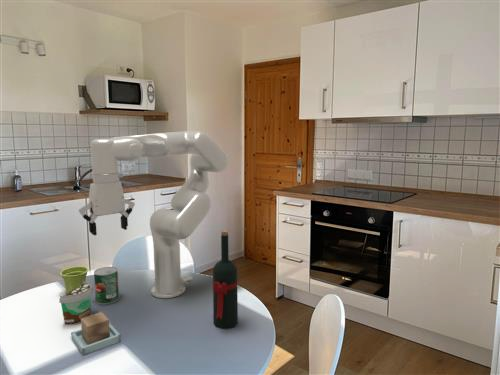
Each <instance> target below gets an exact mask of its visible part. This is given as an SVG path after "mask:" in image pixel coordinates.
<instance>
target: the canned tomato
mask: <svg viewBox="0 0 500 375" xmlns="http://www.w3.org/2000/svg"><path fill="white" fill-rule="evenodd" d="M118 270H119V269H118V268H117V267H116V266H102V267H99V268H97V269H95V270H94V271H93V276H94V278H93V279H94V291H95V302H96V304H98V305H111V304H113V303H116V302H117V301H118V300H120V294H119V293H120V292H119V291H120V290H119V275H118V274H119V273H118Z"/></svg>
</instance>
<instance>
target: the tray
mask: <svg viewBox="0 0 500 375" xmlns="http://www.w3.org/2000/svg"><path fill="white" fill-rule="evenodd" d="M109 329H110V337H109V338H106V339H104V340H101V341H98V342H95V343H92V344H90V345H87V343H86V342H85V341H84V339H83V338H82V330H81V329H78V330H75V331H72V332H70V337H71V338H70V339H71V340H72V341H73V343H74V344H75V347H76V348H77V349H78V351H79V353H80V354H81V355H82V356H85V355H88V354H90V353H93V352H95V351H99V350H102V349H104V348H107V347H109V346H112V345H115V344H118V343H121V342H122V341H121V340H122V339H121V338H122V337H121V336H122V335H121V333H119V332H118V331H117V329H116V328H115V327H114V326H113V325H112V324H111V323H110V322H109Z"/></svg>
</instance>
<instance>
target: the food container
mask: <svg viewBox="0 0 500 375" xmlns="http://www.w3.org/2000/svg"><path fill="white" fill-rule="evenodd" d="M93 293H94V291H93V287H92V285H91V283H89V282H88V281H86V282H84V281H83V284H82V285H81V286H79V287H78V288H75V289H73V290H72V291H70V292H69V293H68V294H67V293H66V294H65V295H59V301H58V303H59V304H61V312H62V316H63V321H64V325H76V324H79V323H80V324H81V318H84V317H87V316H90V315H91V310H92V308H91V305H92V304H91V299H92V297H91V295H92V294H93Z"/></svg>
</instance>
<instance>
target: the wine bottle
mask: <svg viewBox="0 0 500 375" xmlns="http://www.w3.org/2000/svg"><path fill="white" fill-rule="evenodd" d="M220 233H221V235H220V240H221V242H220V250H221V253H220V255H221V259H220V260H219V261H217V262H216V263H215V265H214V266H213V269H212V296H213V297H212V298H213V300H212V301H213V304H212V307H213V309H212V311H213V314H212V315H213V316H212V318H213V322H212V323H213V324H212V325H214V326H215V328H217V329H221V330H229V329H232V328H233V329H234V328H235V327H236V326H237V325H238V323H239V322H238V321H239V319H238V318H239V314H238V313H239V312H238V311H239V310H238V309H239V308H238V306H239V305H238V304H239V302H238V300H239V299H238V298H239V297H238V296H239V295H238V267H237V265H236V264H235V263H234V262H233V261H231V260H229V234H228V233H229V230H223V229H222V231H221V232H220Z"/></svg>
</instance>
